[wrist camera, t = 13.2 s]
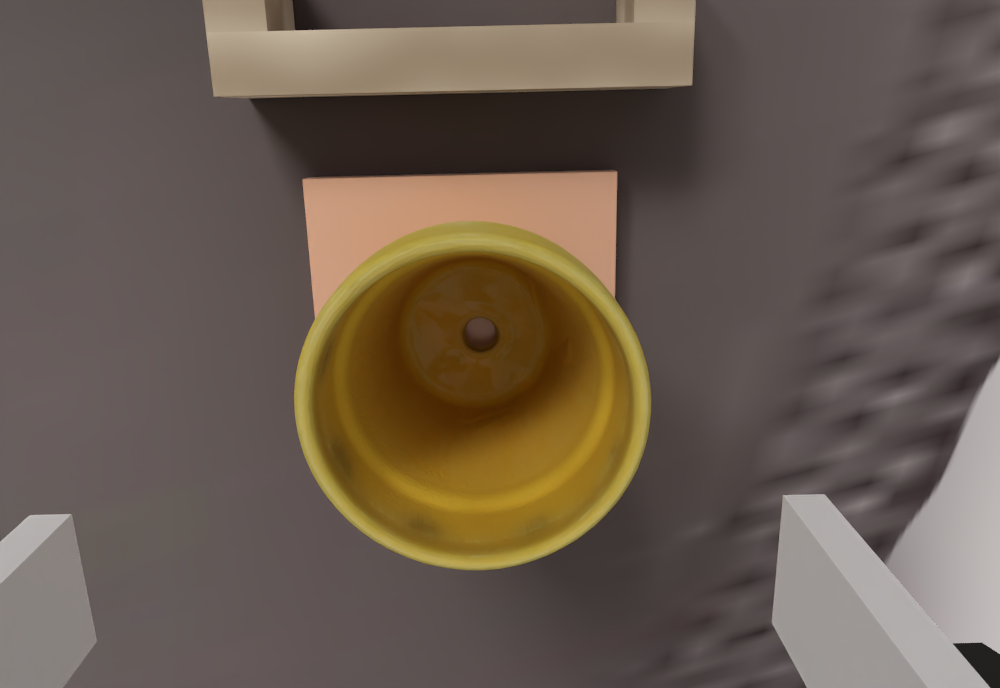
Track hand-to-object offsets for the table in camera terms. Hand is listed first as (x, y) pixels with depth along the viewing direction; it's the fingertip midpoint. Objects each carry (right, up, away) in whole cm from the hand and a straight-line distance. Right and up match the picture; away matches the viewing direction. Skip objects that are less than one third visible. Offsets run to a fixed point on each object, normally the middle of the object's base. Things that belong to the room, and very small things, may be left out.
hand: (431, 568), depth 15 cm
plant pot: (0, +5, +17) cm, 18 cm away
